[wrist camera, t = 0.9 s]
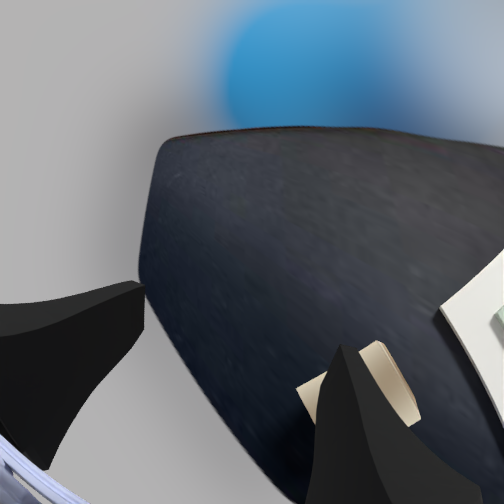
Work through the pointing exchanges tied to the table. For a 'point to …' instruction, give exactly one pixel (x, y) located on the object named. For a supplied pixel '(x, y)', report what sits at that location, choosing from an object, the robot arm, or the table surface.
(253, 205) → the table surface
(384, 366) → the block stack
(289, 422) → the table surface
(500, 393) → the collar board
